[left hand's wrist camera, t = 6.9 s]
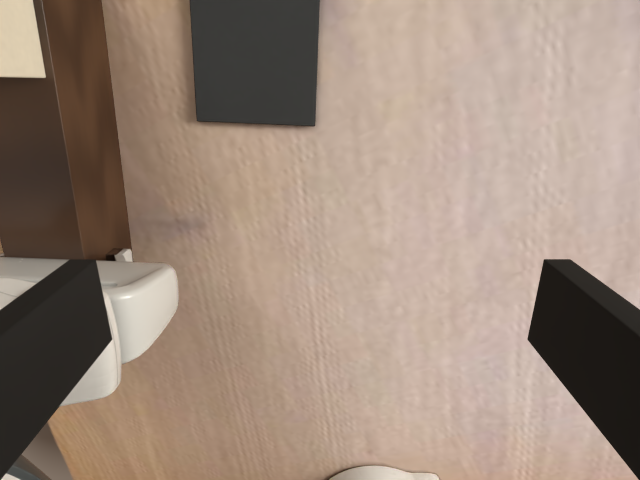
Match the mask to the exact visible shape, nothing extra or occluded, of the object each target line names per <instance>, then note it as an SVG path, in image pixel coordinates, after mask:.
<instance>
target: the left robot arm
mask: <svg viewBox="0 0 640 480" xmlns="http://www.w3.org/2000/svg"><path fill="white" fill-rule="evenodd" d="M111 341H112V335H111V330H110V325H109V320H108V315H107V311H106V306H105V301H104V296H103V291H102V286H101V282H100V277H99V272H98V267H97V262H96V259H70V260H68V261H67V262H66V263H64V264H63V265H61V266H60V267H59V268H57V269H56V270H55V271H53V272H52V273H50V274H49V275H48V276H46V277H45V278H43V279H42V280H41V281H39V282H38V283H37V284H35V285H34V286H32V287H31V288H30V289H28V290H27V291H25V292H24V293H23V294H21V295H20V296H19V297H17V298H16V299H14V300H13V301H12V302H10V303H9V304H8V305H6V306H5V307H3V308H2V309H1V310H0V480H1V479H2V478H3V477H4V475H5V474H6V473H7V472H8V470H9V469H10V468H11V466H12V465H13V464H14V463H15V461H16V460H17V459H18V458H19V456H20V455H21V454H22V453H23V451H24V450H25V449H26V448H27V446H28V445H29V444H30V442H31V441H32V440H33V439H34V437H35V436H36V435H37V434H38V433H39V431H40V430H41V429H42V427H43V426H44V425H45V424H46V422H47V421H48V420H49V419H50V417H51V416H52V415H53V414H54V412H55V411H56V410H57V409H58V407H59V406H60V405H61V404H62V402H63V401H64V400H65V399H66V397H67V396H68V395H69V394H70V392H71V391H72V390H73V388H74V387H75V386H76V385H77V383H78V382H79V381H80V380H81V378H82V377H83V376H84V375H85V373H86V372H87V371H88V370H89V368H90V367H91V366H92V365H93V363H94V362H95V361H96V360H97V358H98V357H99V356H100V355H101V353H102V352H103V351H104V349H105V348H106V347H107V346H108V344H109V343H110V342H111ZM528 341H529V342H530V343H531V344H532V346H533V347H534V348H535V349H536V351H537V352H538V353H539V355H540V356H541V357H542V358H543V360H544V361H545V362H546V363H547V365H548V366H549V367H550V368H551V370H552V371H553V372H554V373H555V375H556V376H557V377H558V378H559V380H560V381H561V382H562V383H563V385H564V386H565V387H566V388H567V390H568V391H569V392H570V394H571V395H572V396H573V397H574V399H575V400H576V401H577V402H578V404H579V405H580V406H581V407H582V409H583V410H584V411H585V412H586V414H587V415H588V416H589V417H590V419H591V420H592V421H593V422H594V424H595V425H596V426H597V427H598V429H599V430H600V431H601V433H602V434H603V435H604V436H605V438H606V439H607V440H608V441H609V443H610V444H611V445H612V446H613V448H614V449H615V450H616V451H617V453H618V454H619V455H620V456H621V458H622V459H623V460H624V461H625V463H626V464H627V465H628V466H629V468H630V469H631V470H632V472H633V473H634V474H635V475H636V477H637V478H638V479H639V480H640V310H639V309H638V308H637V307H635V306H634V305H632V304H631V303H630V302H628V301H627V300H626V299H624V298H623V297H621V296H620V295H619V294H617V293H616V292H614V291H613V290H612V289H610V288H609V287H608V286H606V285H605V284H603V283H602V282H601V281H599V280H598V279H597V278H595V277H594V276H592V275H591V274H590V273H588V272H587V271H585V270H584V269H583V268H581V267H580V266H579V265H577V264H576V263H574V262H573V261H572V260H570V259H544V262H543V267H542V272H541V277H540V282H539V286H538V291H537V296H536V301H535V306H534V311H533V315H532V320H531V325H530V330H529V335H528Z"/></svg>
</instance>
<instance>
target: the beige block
mask: <svg viewBox="0 0 640 480" xmlns="http://www.w3.org/2000/svg"><path fill="white" fill-rule="evenodd" d="M0 77H16V78H46V74H45V69H44V63H43V57H42V51H41V45H40V40H39V34H38V28H37V22H36V16H35V10H34V5H33V0H0Z"/></svg>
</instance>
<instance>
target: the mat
mask: <svg viewBox="0 0 640 480" xmlns="http://www.w3.org/2000/svg"><path fill="white" fill-rule="evenodd" d="M319 2H320V0H190V12H191V29H192V46H193V63H194V80H195V97H196V114H197V121H206V122H230V123H254V124H277V125H301V126H315V114H316V86H317V58H318V30H319Z"/></svg>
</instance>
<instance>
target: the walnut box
mask: <svg viewBox="0 0 640 480" xmlns="http://www.w3.org/2000/svg"><path fill="white" fill-rule="evenodd" d="M33 5H34V10H35V16H36V22H37V28H38V34H39V40H40V45H41V51H42V57H43V63H44V69H45V74H46V78H16V77H0V239H1V243H2V248H3V252H4V256H5V257H17V258H44V259H96V260H98V261H106V254H107V253H108V252H109V251H111V250H112V249H113V248H121V249H130V250H131V252H132V248H131V240H130V232H129V224H128V215H127V207H126V199H125V191H124V183H123V174H122V166H121V158H120V150H119V142H118V133H117V125H116V117H115V109H114V100H113V92H112V84H111V76H110V68H109V59H108V51H107V43H106V35H105V27H104V18H103V10H102V2H101V0H33ZM132 260H133V256H132Z"/></svg>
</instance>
